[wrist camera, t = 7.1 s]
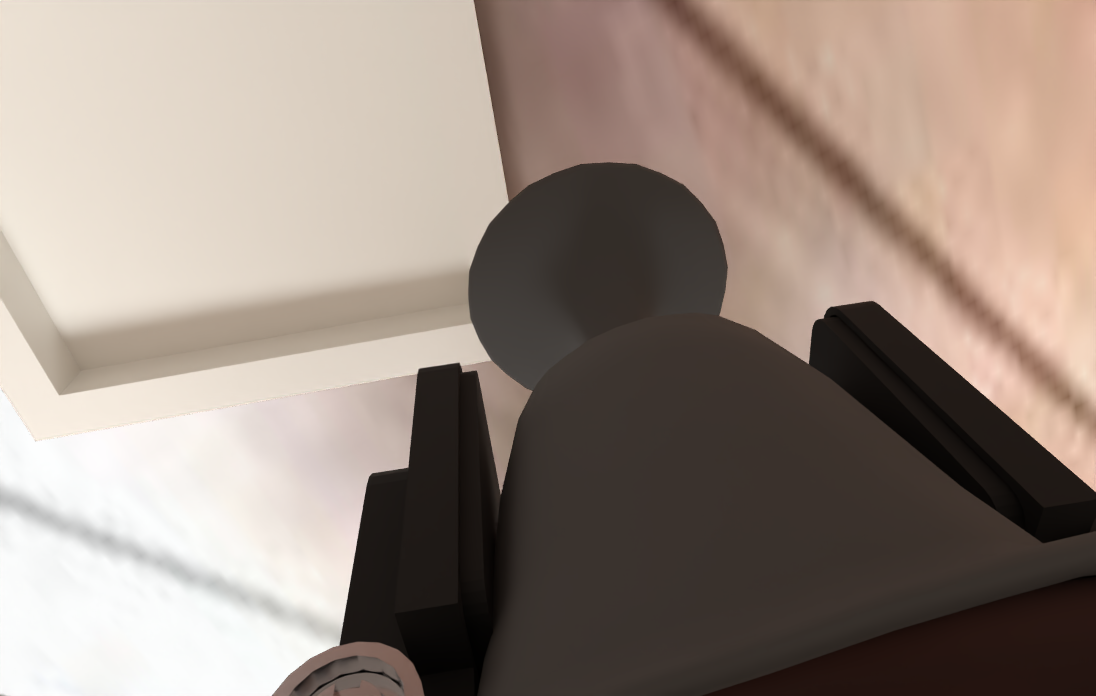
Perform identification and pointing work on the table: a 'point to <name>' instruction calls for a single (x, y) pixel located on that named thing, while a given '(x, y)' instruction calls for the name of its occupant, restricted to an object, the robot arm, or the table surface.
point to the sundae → (728, 490)
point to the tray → (235, 201)
